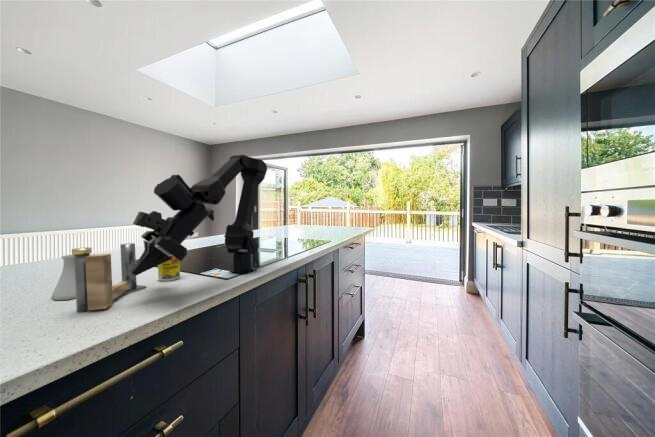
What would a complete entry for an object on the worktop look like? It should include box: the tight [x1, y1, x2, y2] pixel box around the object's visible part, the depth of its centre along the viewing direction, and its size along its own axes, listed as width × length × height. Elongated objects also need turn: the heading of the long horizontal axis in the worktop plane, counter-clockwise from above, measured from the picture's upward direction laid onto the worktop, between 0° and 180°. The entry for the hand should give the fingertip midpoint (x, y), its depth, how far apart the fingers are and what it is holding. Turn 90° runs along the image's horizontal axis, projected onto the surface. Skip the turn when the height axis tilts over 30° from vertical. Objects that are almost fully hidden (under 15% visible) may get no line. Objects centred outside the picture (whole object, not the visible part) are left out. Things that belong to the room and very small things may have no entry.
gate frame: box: [71, 242, 147, 313], centre depth 61 cm, size 16×8×13 cm, turn 163°
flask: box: [50, 254, 76, 301], centre depth 63 cm, size 7×7×10 cm
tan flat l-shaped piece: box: [85, 253, 129, 311], centre depth 59 cm, size 12×3×11 cm, turn 16°
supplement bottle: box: [157, 255, 181, 282], centre depth 77 cm, size 6×6×10 cm
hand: (133, 273), depth 58 cm, fingers closed
